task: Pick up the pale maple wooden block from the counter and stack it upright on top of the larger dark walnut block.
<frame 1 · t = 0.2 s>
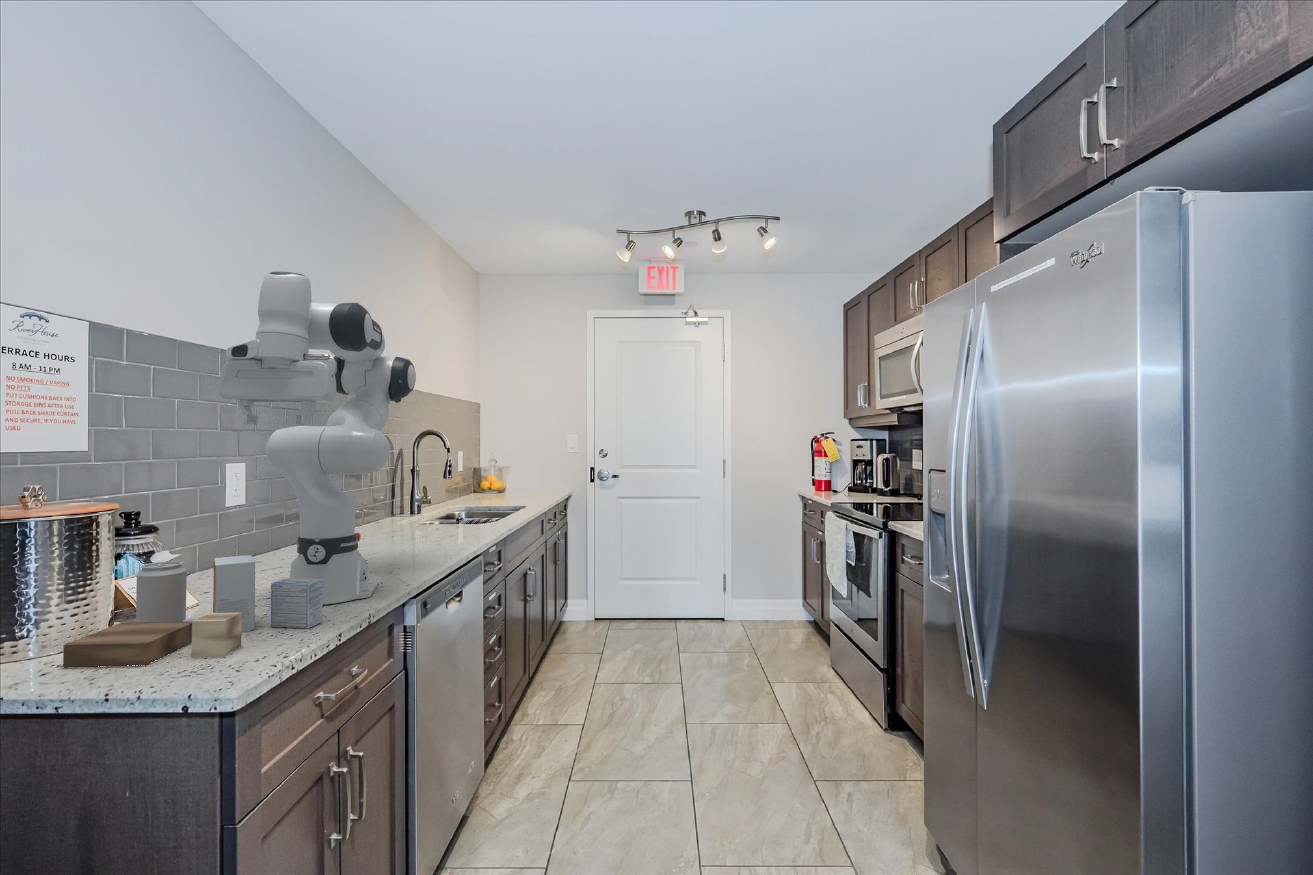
hand: (276, 425, 117), 39 cm above the countertop, tool pointing down, fingers open, 8 cm apart
medicine box: (296, 626, 120), on the countertop
small box: (233, 629, 117), on the countertop
walnut block: (133, 656, 103), on the countertop
can: (161, 627, 118), on the countertop
maple block: (216, 652, 104), on the countertop
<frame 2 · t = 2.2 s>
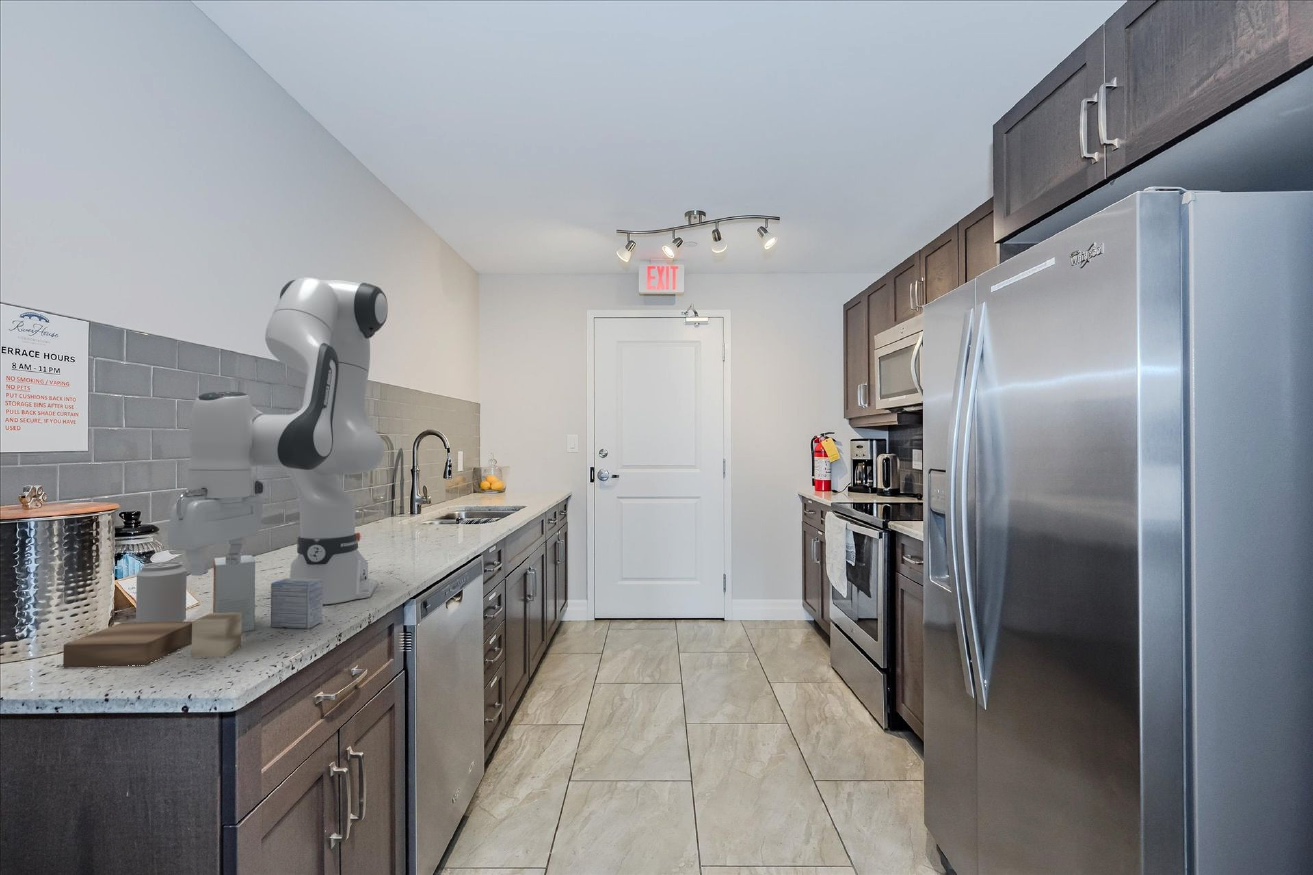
hand: (216, 569, 104), 14 cm above the countertop, tool pointing down, fingers open, 8 cm apart
nothing on the countertop moved.
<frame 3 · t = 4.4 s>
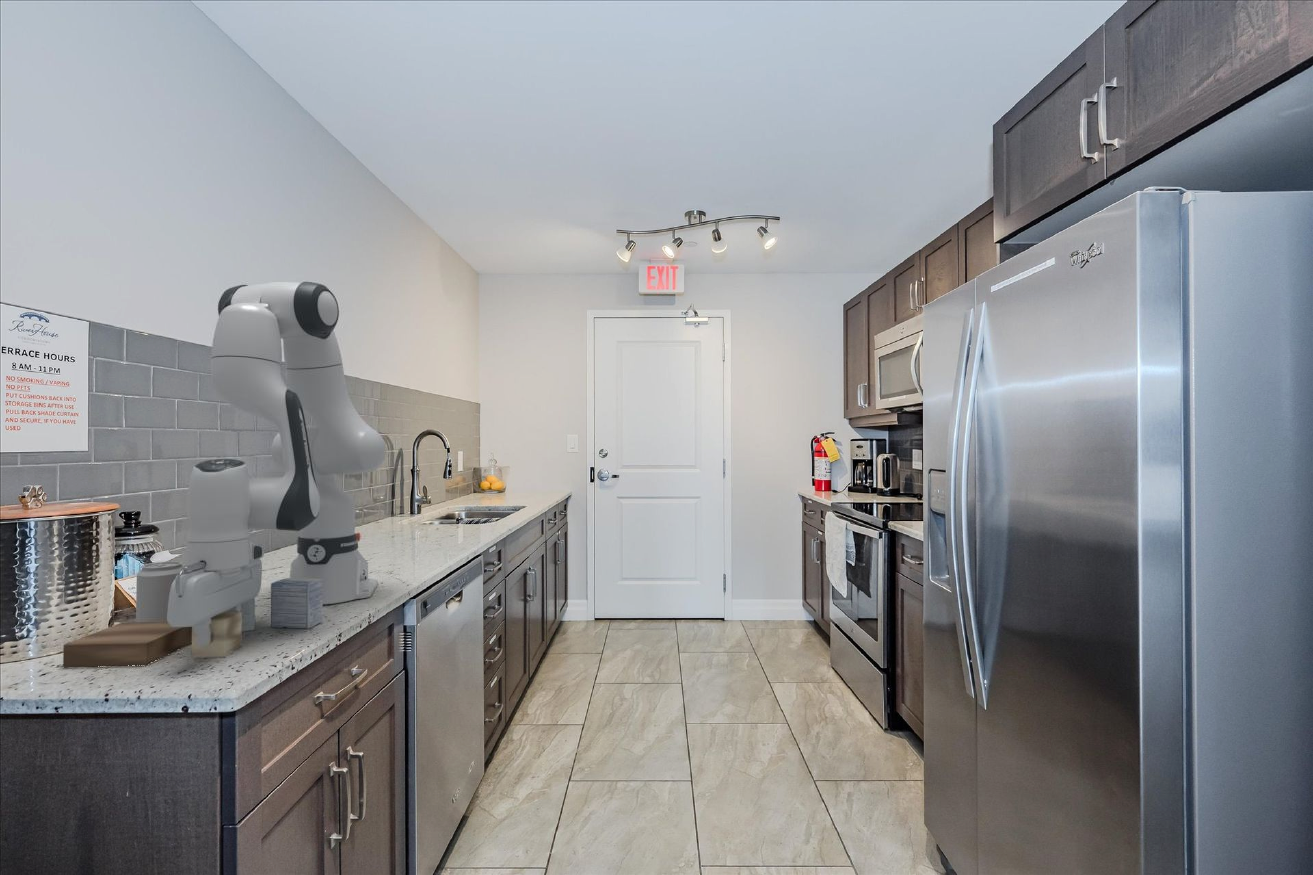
hand: (217, 638, 104), 2 cm above the countertop, tool pointing down, fingers closed on maple block, 5 cm apart
maple block: (216, 652, 104), on the countertop, touching gripper
everything else where it was.
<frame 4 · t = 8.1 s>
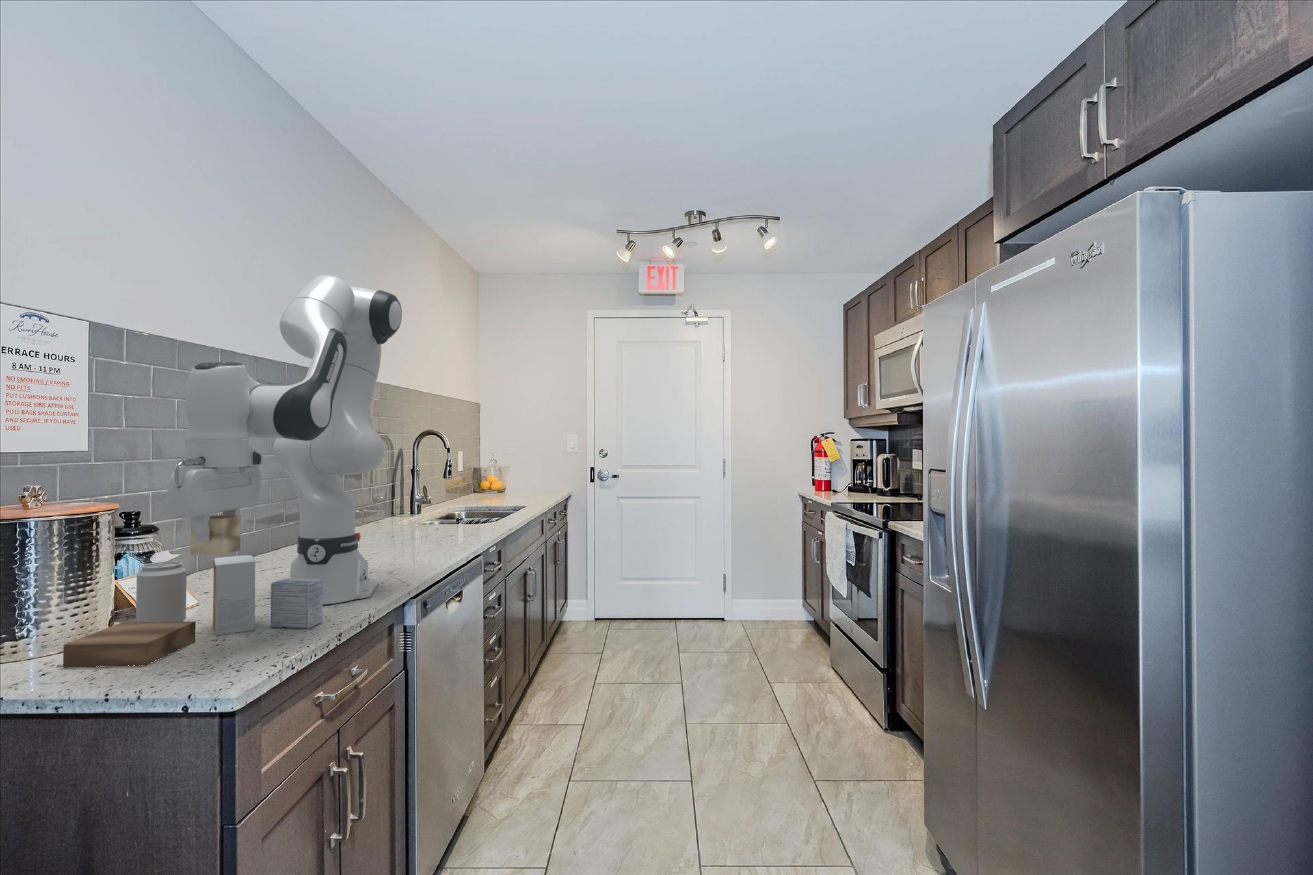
hand: (216, 538, 104), 19 cm above the countertop, tool pointing down, fingers closed on maple block, 5 cm apart
maple block: (215, 552, 104), point 17 cm above the countertop, touching gripper
everything else where it was.
when the fingers open (8 cm above the countertop, at t = 11.9 s): maple block drops 2 cm, resting on walnut block.
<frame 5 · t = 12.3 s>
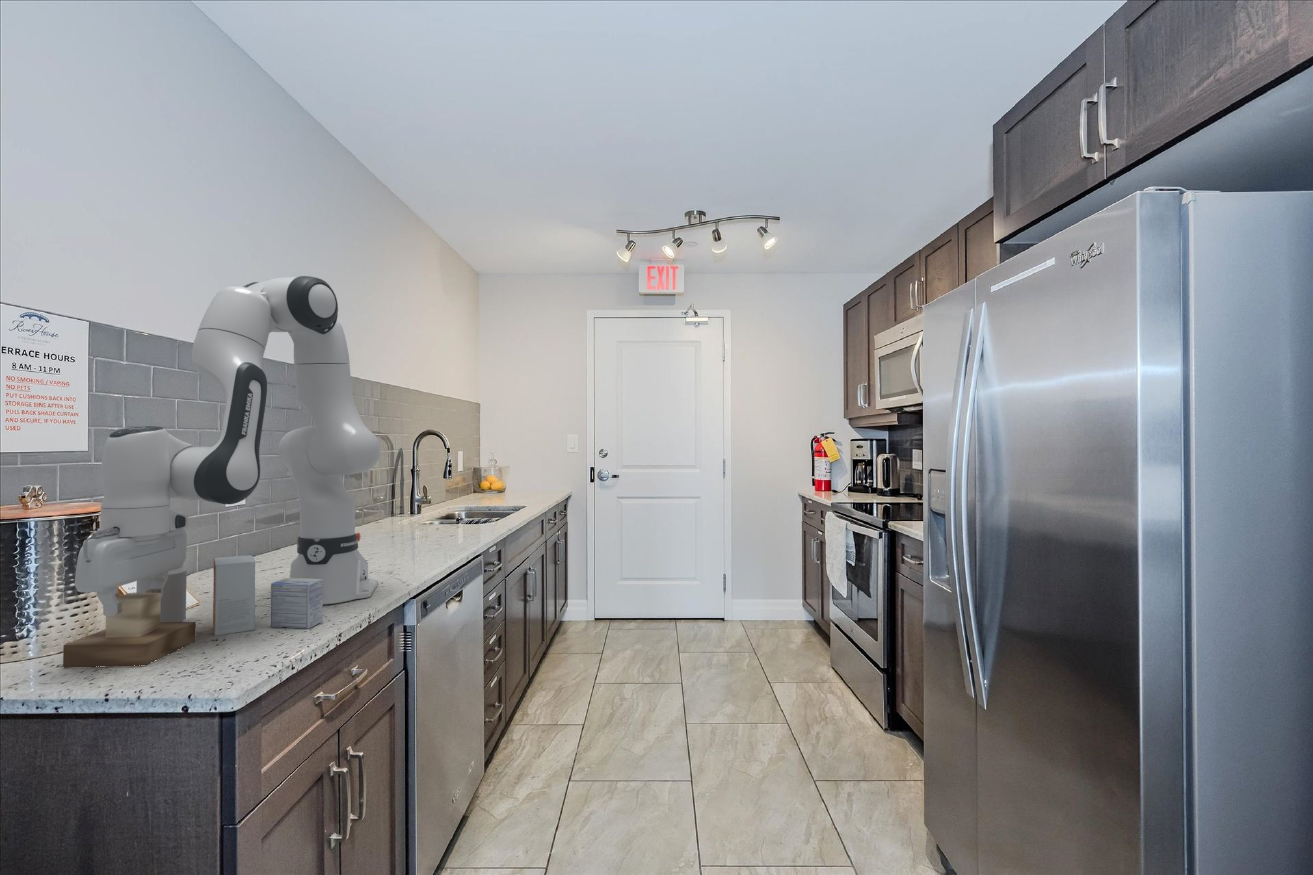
hand: (134, 606, 103), 8 cm above the countertop, tool pointing down, fingers open, 8 cm apart
walnut block: (133, 656, 103), on the countertop, touching maple block
maple block: (133, 632, 103), point 3 cm above the countertop, touching walnut block
everything else where it was.
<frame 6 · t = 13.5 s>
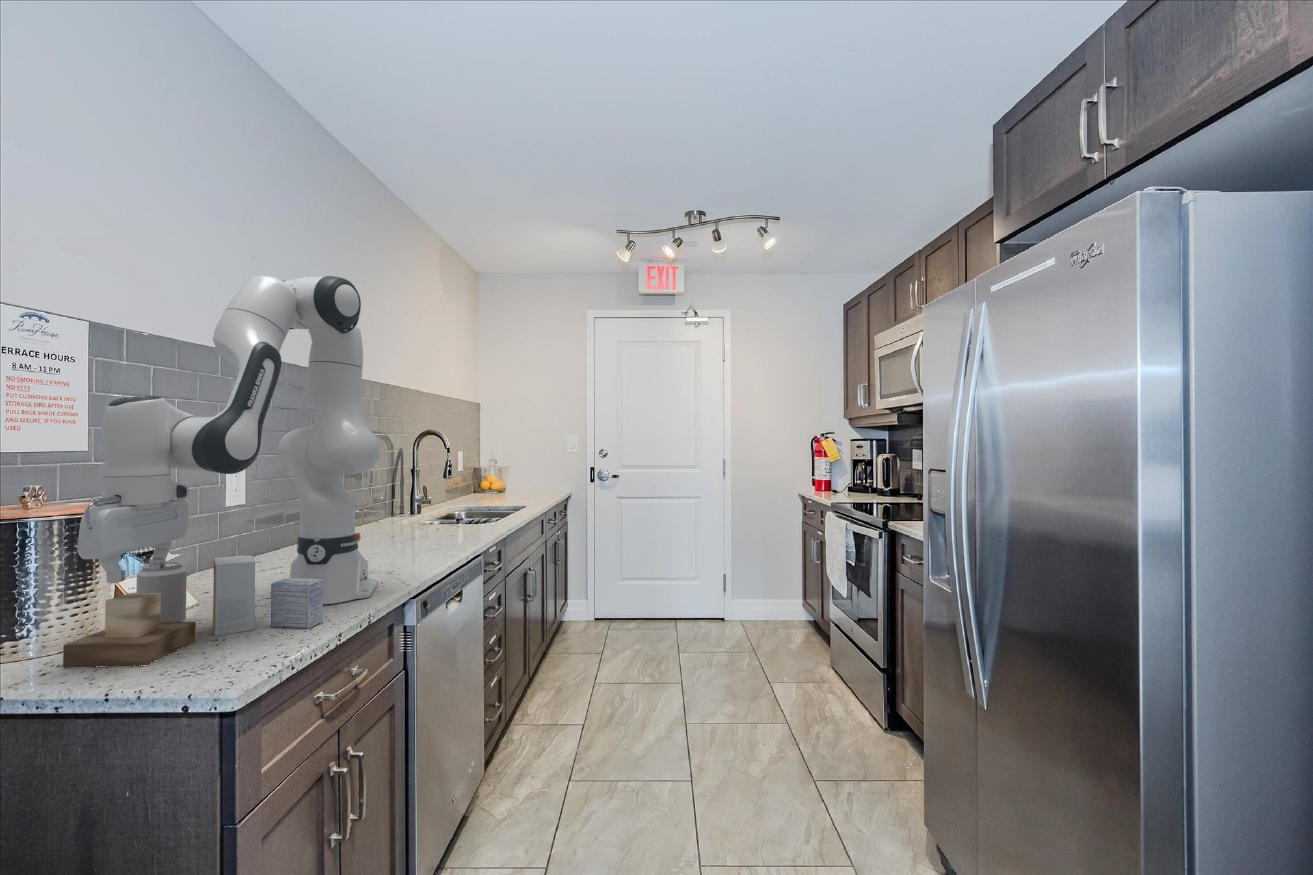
hand: (137, 575, 103), 13 cm above the countertop, tool pointing down, fingers open, 8 cm apart
nothing on the countertop moved.
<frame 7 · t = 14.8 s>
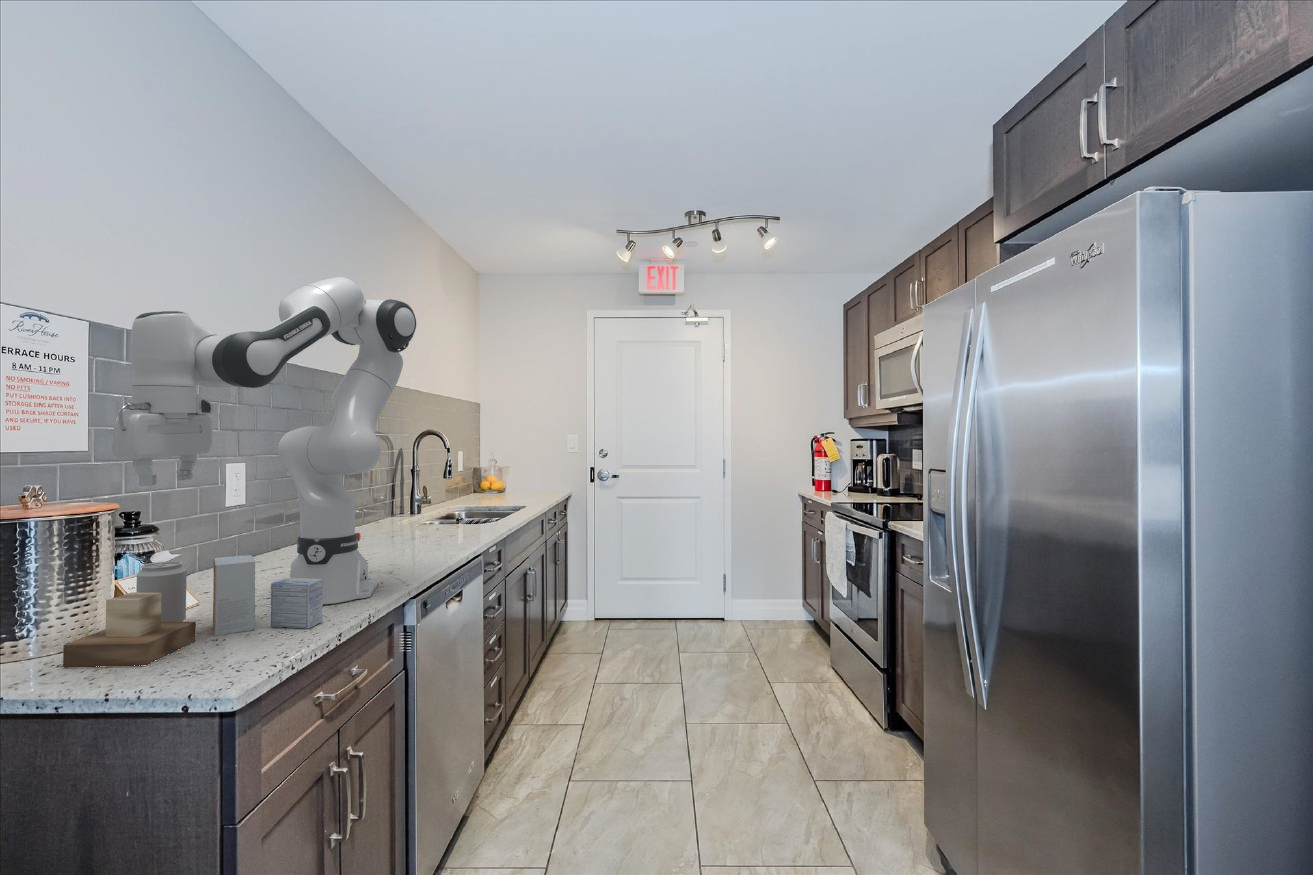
hand: (167, 482, 108), 28 cm above the countertop, tool pointing down, fingers open, 8 cm apart
nothing on the countertop moved.
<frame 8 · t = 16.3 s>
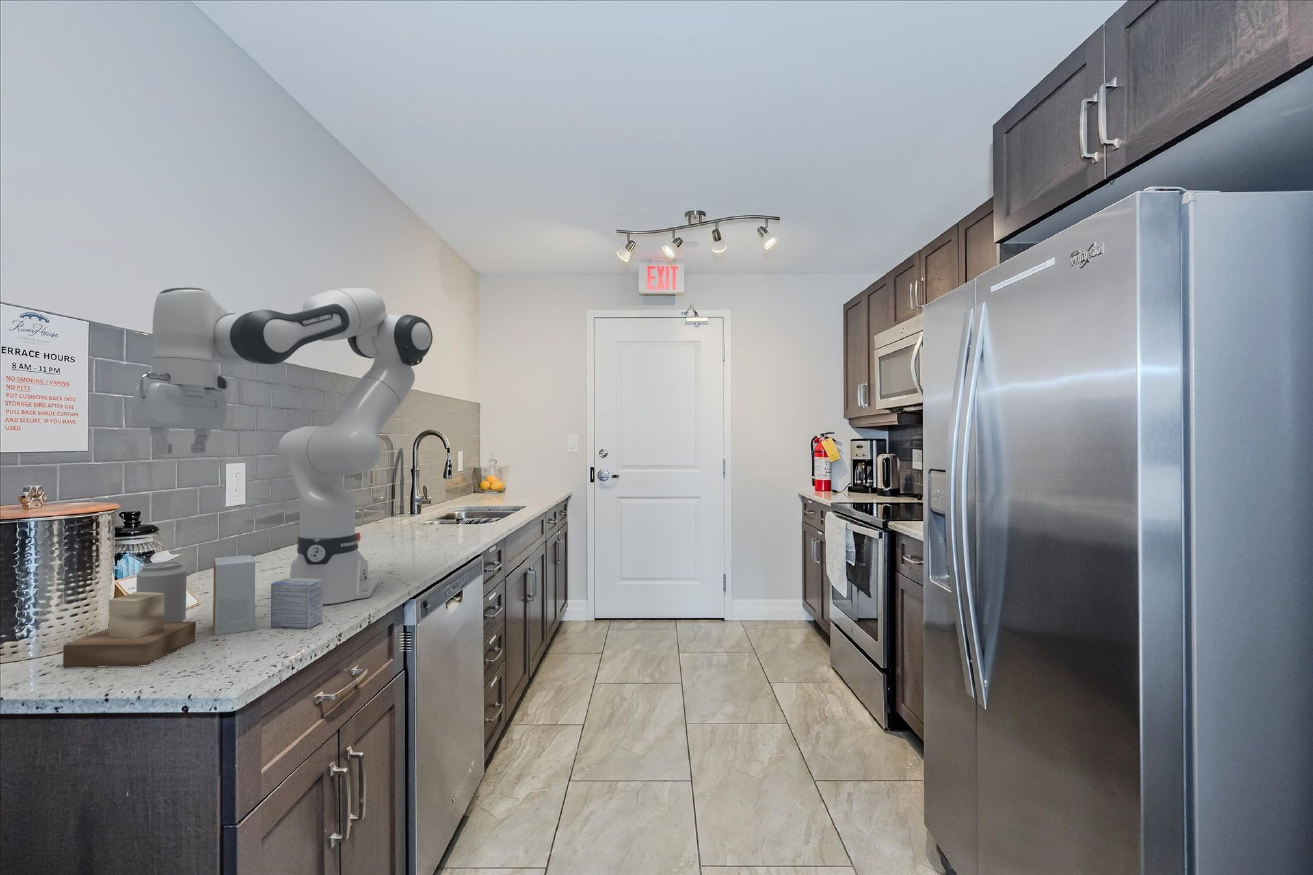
hand: (181, 453, 111), 33 cm above the countertop, tool pointing down, fingers open, 8 cm apart
nothing on the countertop moved.
at the end: maple block 0.4 cm off-centre on the walnut block, point 4.0 cm above the walnut block's base; maple block tilted 0°; the gripper is holding nothing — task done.
